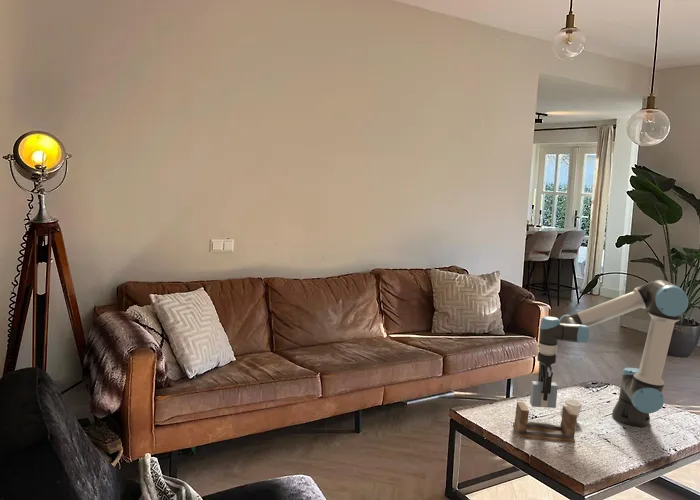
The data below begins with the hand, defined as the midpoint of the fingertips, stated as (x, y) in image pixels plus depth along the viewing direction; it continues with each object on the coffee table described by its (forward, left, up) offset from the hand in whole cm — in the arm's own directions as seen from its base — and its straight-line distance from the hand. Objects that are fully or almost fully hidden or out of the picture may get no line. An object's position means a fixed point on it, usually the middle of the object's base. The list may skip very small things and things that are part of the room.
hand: (542, 404), depth 255 cm
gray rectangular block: (0, 0, 0) cm, 0 cm away
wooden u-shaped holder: (+3, +15, -6) cm, 16 cm away
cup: (-12, -1, -7) cm, 14 cm away
